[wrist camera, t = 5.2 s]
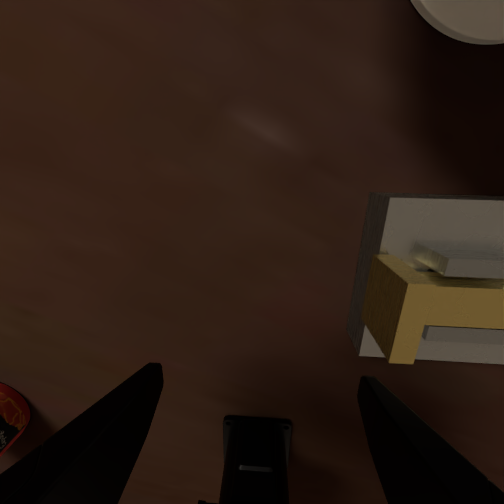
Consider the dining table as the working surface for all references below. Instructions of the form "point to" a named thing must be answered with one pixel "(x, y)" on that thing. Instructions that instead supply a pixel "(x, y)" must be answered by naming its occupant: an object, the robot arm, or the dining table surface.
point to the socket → (434, 263)
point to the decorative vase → (465, 19)
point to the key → (424, 305)
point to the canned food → (11, 416)
